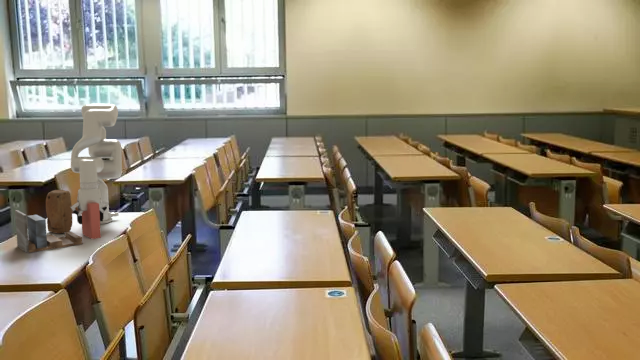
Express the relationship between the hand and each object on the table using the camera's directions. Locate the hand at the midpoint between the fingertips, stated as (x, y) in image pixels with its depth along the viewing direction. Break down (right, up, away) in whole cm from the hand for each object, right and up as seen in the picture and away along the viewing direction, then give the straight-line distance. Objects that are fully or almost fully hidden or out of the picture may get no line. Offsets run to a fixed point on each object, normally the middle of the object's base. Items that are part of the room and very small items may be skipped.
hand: (90, 222), depth 279 cm
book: (0, -6, +1) cm, 7 cm away
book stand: (-11, -9, -15) cm, 21 cm away
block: (-17, -5, +7) cm, 20 cm away
